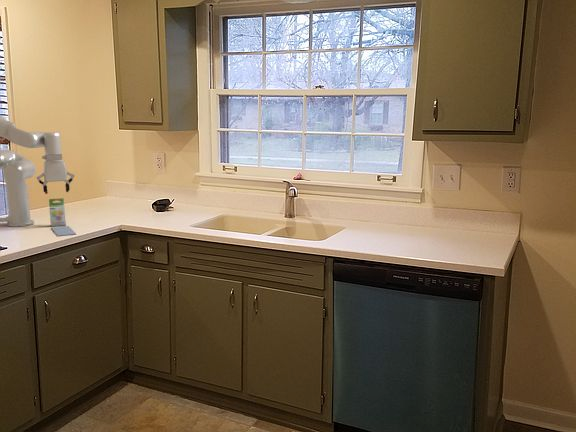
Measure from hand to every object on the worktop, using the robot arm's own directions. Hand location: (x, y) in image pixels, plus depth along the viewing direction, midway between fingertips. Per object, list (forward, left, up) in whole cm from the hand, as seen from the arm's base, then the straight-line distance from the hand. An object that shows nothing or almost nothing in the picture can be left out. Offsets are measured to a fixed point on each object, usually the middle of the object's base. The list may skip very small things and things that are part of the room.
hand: (56, 192), depth 266 cm
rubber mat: (0, -15, -17) cm, 22 cm away
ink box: (0, 0, -17) cm, 17 cm away
